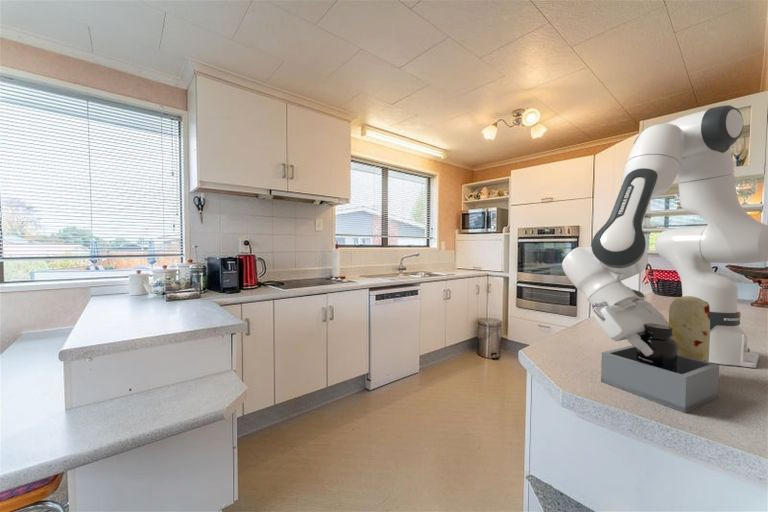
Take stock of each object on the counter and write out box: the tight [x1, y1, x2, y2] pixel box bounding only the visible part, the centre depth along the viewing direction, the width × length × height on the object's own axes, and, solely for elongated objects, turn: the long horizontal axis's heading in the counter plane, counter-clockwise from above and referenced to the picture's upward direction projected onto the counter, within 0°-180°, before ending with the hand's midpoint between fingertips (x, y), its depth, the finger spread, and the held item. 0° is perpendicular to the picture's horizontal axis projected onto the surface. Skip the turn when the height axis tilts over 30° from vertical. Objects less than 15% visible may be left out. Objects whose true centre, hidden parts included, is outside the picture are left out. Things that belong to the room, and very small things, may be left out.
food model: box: [668, 296, 710, 363], centre depth 75 cm, size 10×7×20 cm
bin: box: [600, 344, 720, 414], centre depth 68 cm, size 15×15×7 cm
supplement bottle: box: [636, 323, 678, 373], centre depth 68 cm, size 7×7×12 cm
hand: (661, 351), depth 67 cm, fingers closed on supplement bottle, 7 cm apart
